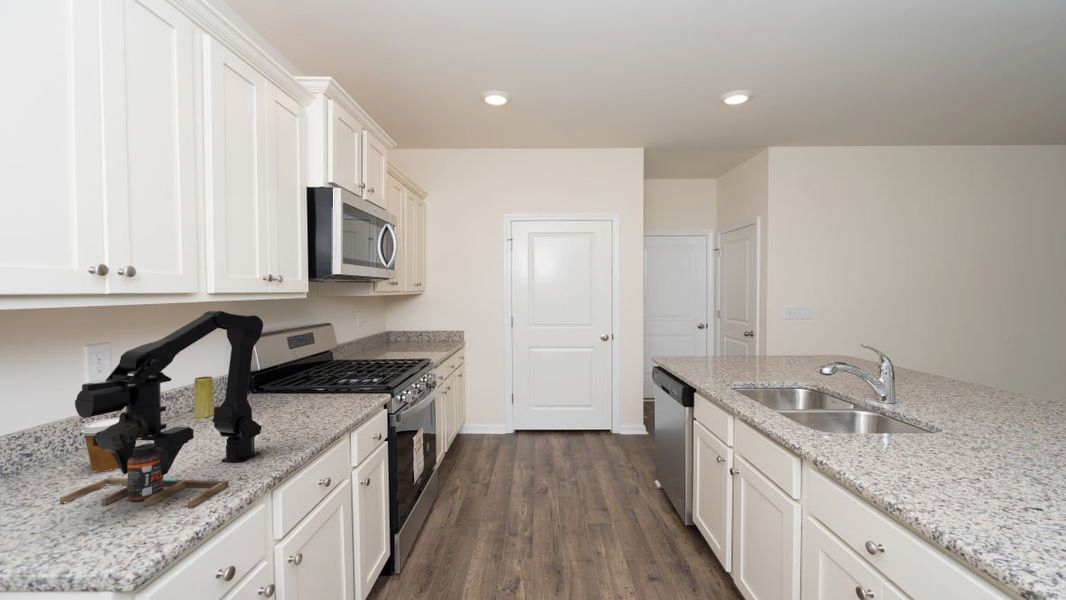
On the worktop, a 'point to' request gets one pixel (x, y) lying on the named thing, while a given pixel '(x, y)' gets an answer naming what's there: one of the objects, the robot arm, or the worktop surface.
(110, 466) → the disposable coffee cup
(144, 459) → the supplement bottle
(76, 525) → the worktop surface
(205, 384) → the vase
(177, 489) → the notched rack
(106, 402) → the robot arm
